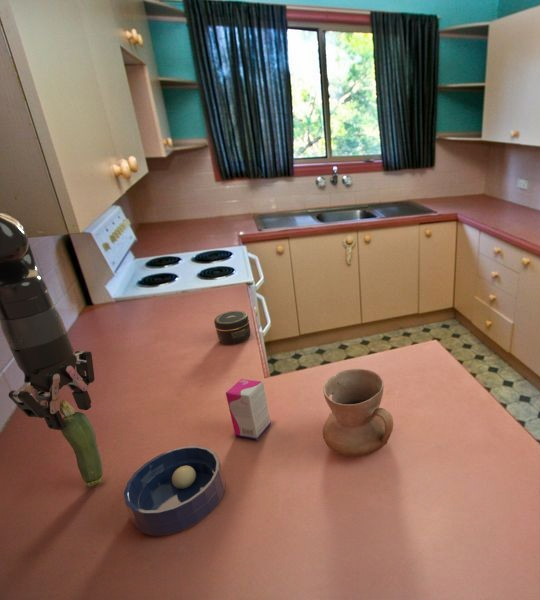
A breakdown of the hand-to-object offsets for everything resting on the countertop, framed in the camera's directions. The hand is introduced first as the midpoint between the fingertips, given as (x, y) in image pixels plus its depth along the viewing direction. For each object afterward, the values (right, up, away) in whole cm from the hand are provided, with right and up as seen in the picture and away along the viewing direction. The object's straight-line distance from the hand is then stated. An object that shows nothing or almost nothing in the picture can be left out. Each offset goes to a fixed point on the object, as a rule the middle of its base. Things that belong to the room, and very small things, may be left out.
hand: (72, 418), depth 77 cm
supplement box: (+26, -8, +19) cm, 33 cm away
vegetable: (+1, -14, +6) cm, 16 cm away
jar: (+7, +9, +59) cm, 60 cm away
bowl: (+19, -16, +1) cm, 25 cm away
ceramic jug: (+51, -9, +14) cm, 53 cm away
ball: (+19, -12, +3) cm, 22 cm away
